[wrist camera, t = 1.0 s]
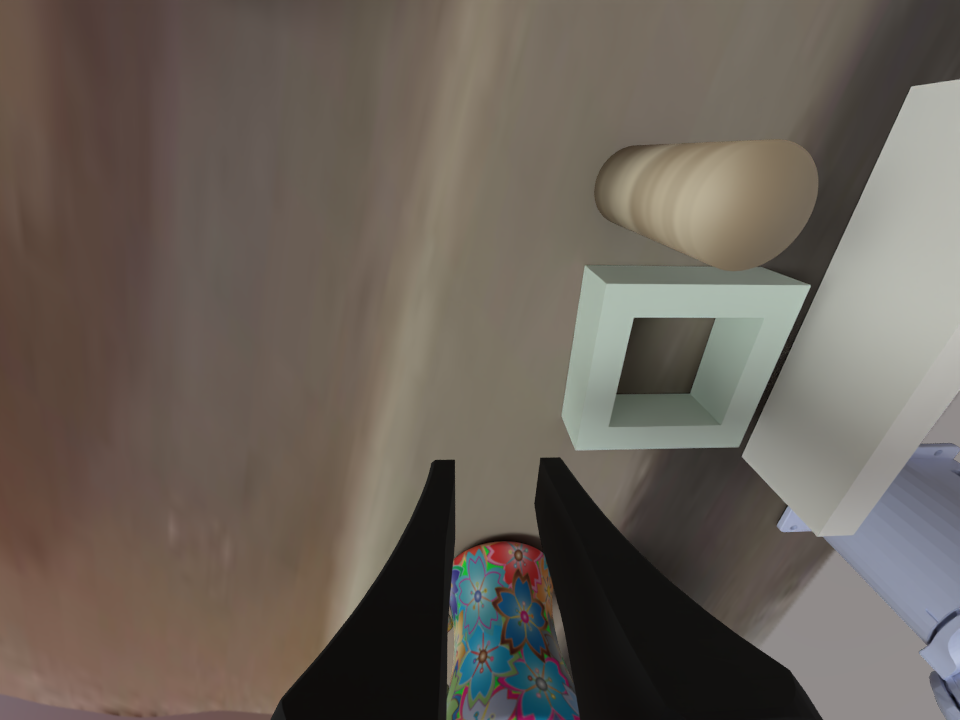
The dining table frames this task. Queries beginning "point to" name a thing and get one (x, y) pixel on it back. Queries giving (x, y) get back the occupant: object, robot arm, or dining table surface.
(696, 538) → the dining table surface
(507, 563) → the mug
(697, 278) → the socket block
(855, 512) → the wall
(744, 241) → the dowel
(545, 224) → the dining table surface
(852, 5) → the dining table surface
